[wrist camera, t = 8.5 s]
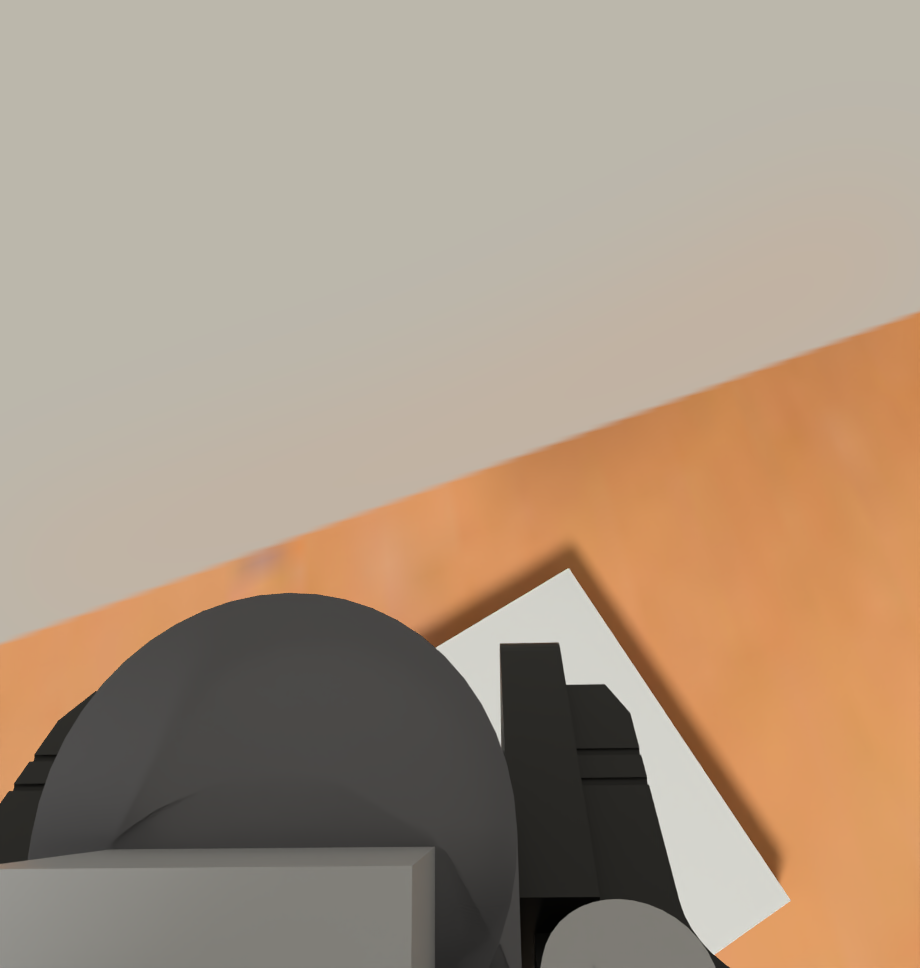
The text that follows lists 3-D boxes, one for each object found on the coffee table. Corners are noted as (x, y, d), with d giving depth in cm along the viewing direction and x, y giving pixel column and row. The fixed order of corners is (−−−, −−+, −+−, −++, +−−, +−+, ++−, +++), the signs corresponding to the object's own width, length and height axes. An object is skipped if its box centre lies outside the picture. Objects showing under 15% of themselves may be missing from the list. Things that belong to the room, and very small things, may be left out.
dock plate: (261, 1260, 23) (249, 1284, 22) (104, 854, 27) (87, 856, 26) (777, 895, 25) (790, 900, 24) (565, 576, 29) (568, 567, 28)
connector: (509, 1052, 12) (559, 1761, 3) (263, 1051, 12) (-358, 1741, 3) (500, 696, 14) (516, 517, 5) (286, 700, 14) (-72, 529, 5)
